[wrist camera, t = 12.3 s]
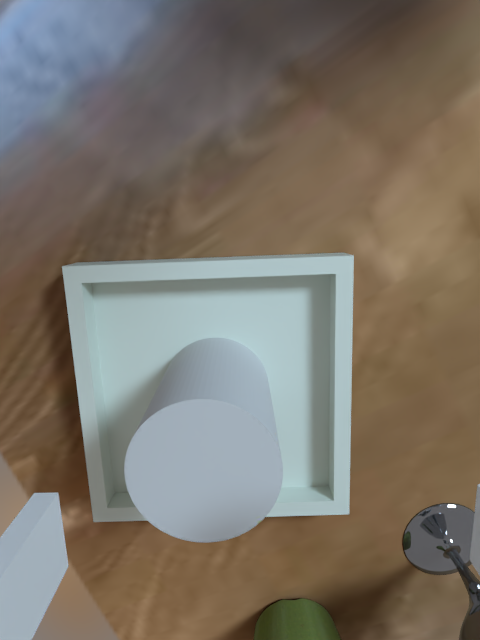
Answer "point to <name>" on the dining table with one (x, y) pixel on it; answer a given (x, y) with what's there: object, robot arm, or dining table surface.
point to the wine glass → (446, 552)
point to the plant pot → (295, 622)
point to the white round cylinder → (207, 445)
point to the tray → (217, 322)
